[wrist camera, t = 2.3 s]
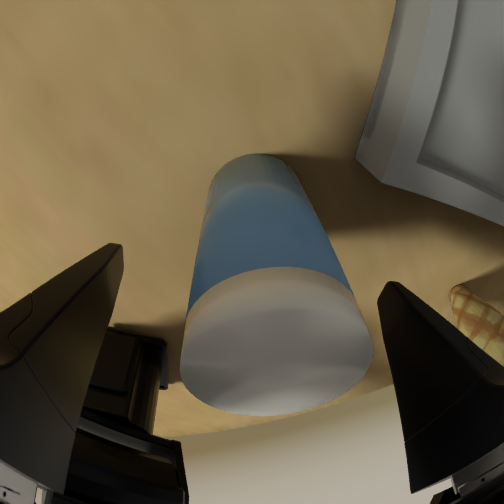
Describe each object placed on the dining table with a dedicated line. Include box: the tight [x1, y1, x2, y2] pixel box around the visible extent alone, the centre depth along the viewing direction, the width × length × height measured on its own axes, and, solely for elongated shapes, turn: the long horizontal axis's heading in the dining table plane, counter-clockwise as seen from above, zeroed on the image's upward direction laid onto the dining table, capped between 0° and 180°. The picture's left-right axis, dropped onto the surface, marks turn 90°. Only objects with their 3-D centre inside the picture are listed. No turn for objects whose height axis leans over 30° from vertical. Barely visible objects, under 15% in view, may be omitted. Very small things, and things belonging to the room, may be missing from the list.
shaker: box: [180, 154, 374, 416], centre depth 10 cm, size 4×4×9 cm
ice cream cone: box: [449, 285, 504, 366], centre depth 12 cm, size 7×6×15 cm
